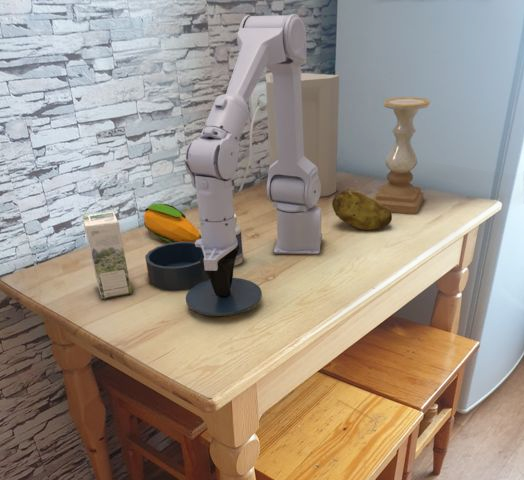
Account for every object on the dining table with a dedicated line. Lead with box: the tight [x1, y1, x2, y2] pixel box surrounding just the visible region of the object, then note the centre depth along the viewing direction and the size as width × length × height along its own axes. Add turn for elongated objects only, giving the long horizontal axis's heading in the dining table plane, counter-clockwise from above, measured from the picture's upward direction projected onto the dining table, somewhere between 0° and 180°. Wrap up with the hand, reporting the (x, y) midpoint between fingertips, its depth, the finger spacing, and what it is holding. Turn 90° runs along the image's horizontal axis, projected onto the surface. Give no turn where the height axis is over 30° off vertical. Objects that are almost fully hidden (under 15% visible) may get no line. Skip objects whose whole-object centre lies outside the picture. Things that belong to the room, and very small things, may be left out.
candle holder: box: [372, 96, 431, 215], centre depth 133 cm, size 11×11×24 cm
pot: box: [144, 241, 210, 291], centre depth 110 cm, size 12×12×5 cm
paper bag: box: [265, 72, 340, 198], centre depth 143 cm, size 19×15×28 cm
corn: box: [143, 202, 201, 243], centre depth 124 cm, size 7×8×20 cm
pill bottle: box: [234, 213, 244, 267], centre depth 113 cm, size 5×5×10 cm
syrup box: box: [82, 210, 133, 300], centre depth 103 cm, size 6×6×14 cm
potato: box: [331, 189, 393, 231], centre depth 126 cm, size 8×13×8 cm, turn 58°
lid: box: [185, 277, 263, 317], centre depth 98 cm, size 13×13×5 cm
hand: (223, 290), depth 99 cm, fingers closed on lid, 2 cm apart
